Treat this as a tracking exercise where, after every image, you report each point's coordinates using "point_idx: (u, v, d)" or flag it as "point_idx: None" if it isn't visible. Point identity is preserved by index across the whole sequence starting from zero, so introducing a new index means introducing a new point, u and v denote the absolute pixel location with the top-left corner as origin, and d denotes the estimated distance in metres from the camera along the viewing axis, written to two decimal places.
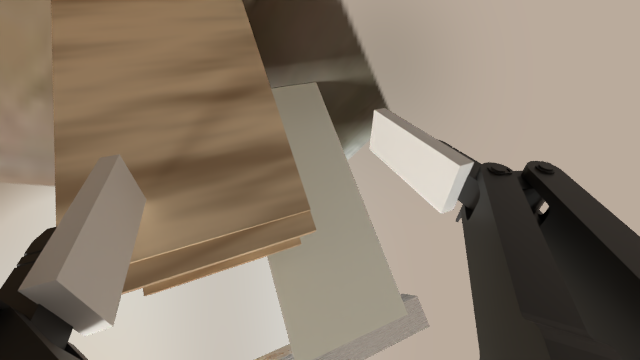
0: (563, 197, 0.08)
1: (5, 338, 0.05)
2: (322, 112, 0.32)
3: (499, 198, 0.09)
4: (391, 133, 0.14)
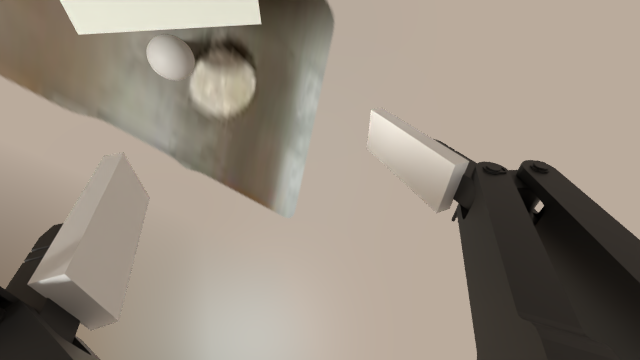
0: (558, 196, 0.08)
1: (15, 331, 0.05)
2: None
3: (494, 197, 0.09)
4: (388, 132, 0.14)
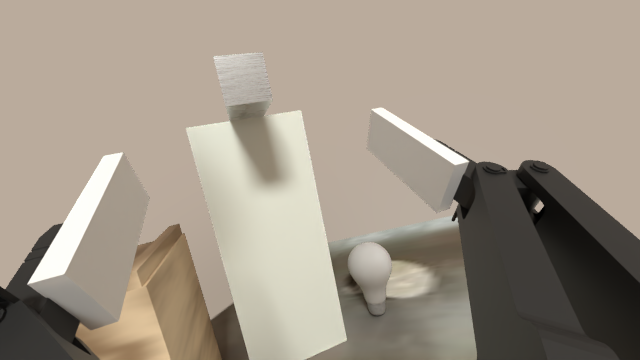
0: (558, 196, 0.08)
1: (16, 331, 0.05)
2: None
3: (494, 197, 0.09)
4: (388, 132, 0.14)
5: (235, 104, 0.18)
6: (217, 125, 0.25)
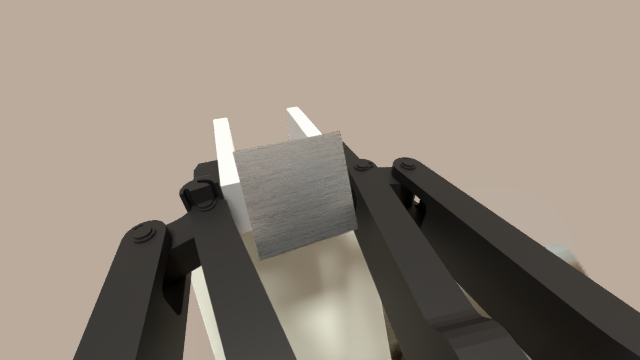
0: (432, 192, 0.09)
1: (220, 217, 0.08)
2: None
3: (372, 196, 0.09)
4: (296, 131, 0.14)
5: (281, 251, 0.08)
6: None
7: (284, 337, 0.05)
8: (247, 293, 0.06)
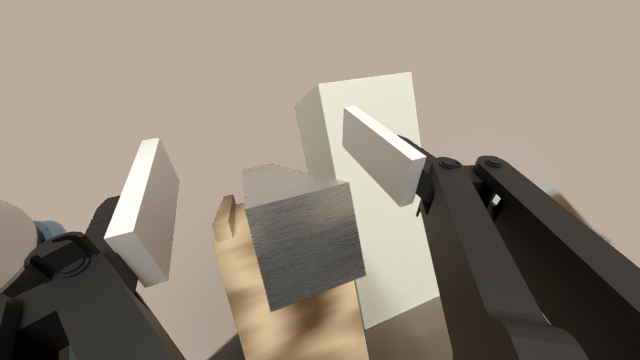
0: (513, 190, 0.09)
1: (97, 277, 0.06)
2: None
3: (452, 192, 0.09)
4: (358, 129, 0.14)
5: (291, 302, 0.08)
6: (343, 82, 0.27)
7: None
8: None
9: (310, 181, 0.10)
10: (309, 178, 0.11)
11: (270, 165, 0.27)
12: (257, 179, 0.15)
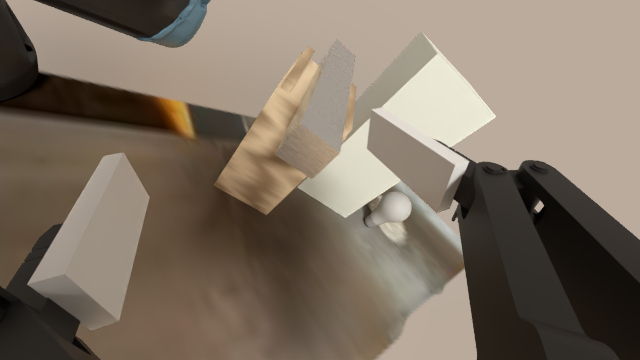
0: (558, 196, 0.08)
1: (15, 331, 0.05)
2: None
3: (494, 197, 0.09)
4: (388, 132, 0.14)
5: (283, 159, 0.19)
6: (451, 72, 0.29)
7: None
8: None
9: (335, 130, 0.19)
10: (338, 126, 0.20)
11: (351, 62, 0.32)
12: (326, 86, 0.22)
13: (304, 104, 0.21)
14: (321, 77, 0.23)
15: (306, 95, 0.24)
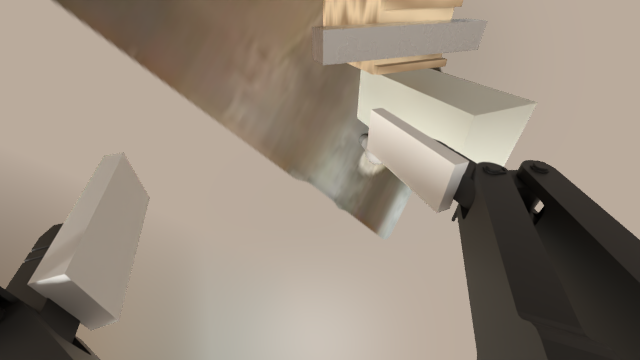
0: (558, 196, 0.08)
1: (15, 330, 0.05)
2: None
3: (494, 197, 0.09)
4: (388, 132, 0.14)
5: (312, 33, 0.29)
6: (465, 135, 0.34)
7: None
8: None
9: (340, 56, 0.29)
10: (347, 57, 0.29)
11: (458, 48, 0.34)
12: (385, 35, 0.29)
13: (358, 26, 0.29)
14: (393, 27, 0.29)
15: (381, 24, 0.30)
